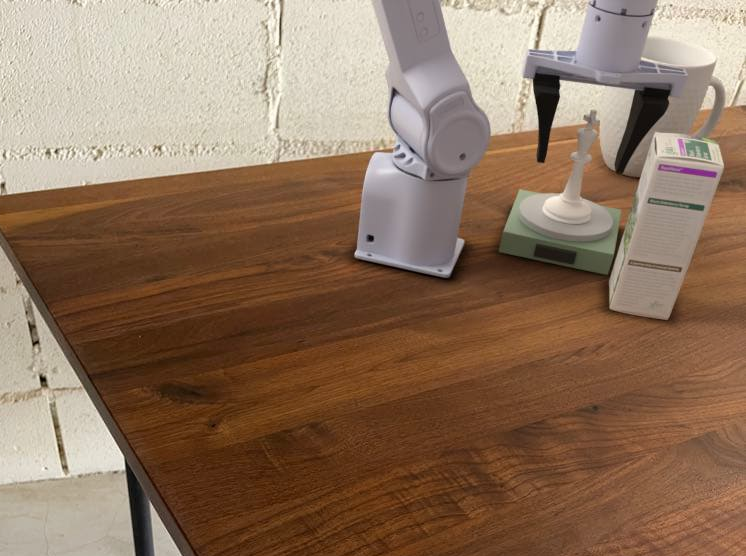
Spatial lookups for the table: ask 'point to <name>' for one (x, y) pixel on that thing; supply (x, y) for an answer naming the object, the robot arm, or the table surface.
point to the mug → (679, 110)
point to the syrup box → (664, 224)
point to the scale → (561, 235)
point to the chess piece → (575, 180)
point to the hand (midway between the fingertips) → (579, 164)
